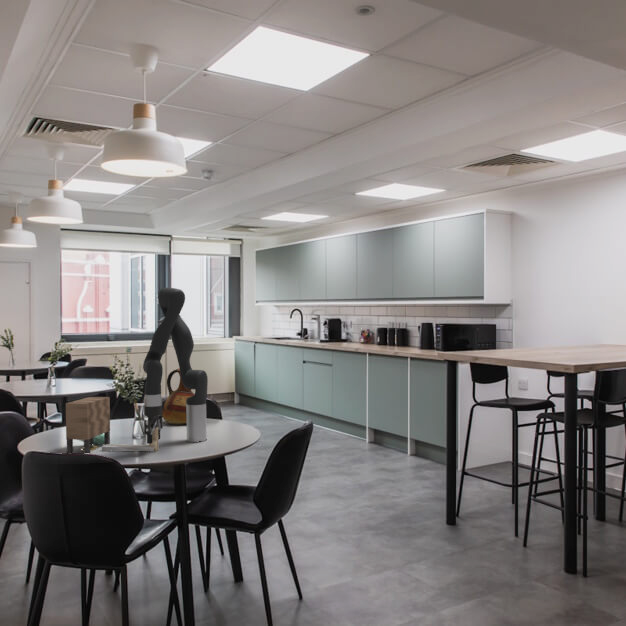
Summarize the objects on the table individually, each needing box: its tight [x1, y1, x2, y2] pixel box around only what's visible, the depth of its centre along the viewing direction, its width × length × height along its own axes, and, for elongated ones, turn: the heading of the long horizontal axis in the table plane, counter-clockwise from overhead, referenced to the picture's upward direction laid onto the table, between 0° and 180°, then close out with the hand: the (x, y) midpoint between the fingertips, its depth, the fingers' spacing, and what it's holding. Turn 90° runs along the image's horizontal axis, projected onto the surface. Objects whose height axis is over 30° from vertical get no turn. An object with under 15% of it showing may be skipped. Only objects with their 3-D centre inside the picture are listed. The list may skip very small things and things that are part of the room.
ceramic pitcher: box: [162, 367, 195, 425], centre depth 340 cm, size 20×20×30 cm
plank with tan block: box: [101, 427, 160, 453], centre depth 274 cm, size 5×25×10 cm, turn 81°
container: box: [94, 433, 104, 445], centre depth 296 cm, size 6×6×25 cm
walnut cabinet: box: [65, 396, 111, 454], centre depth 277 cm, size 20×10×22 cm, turn 171°
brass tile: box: [80, 445, 98, 451], centre depth 277 cm, size 5×5×2 cm
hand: (153, 441), depth 273 cm, fingers open, 8 cm apart
